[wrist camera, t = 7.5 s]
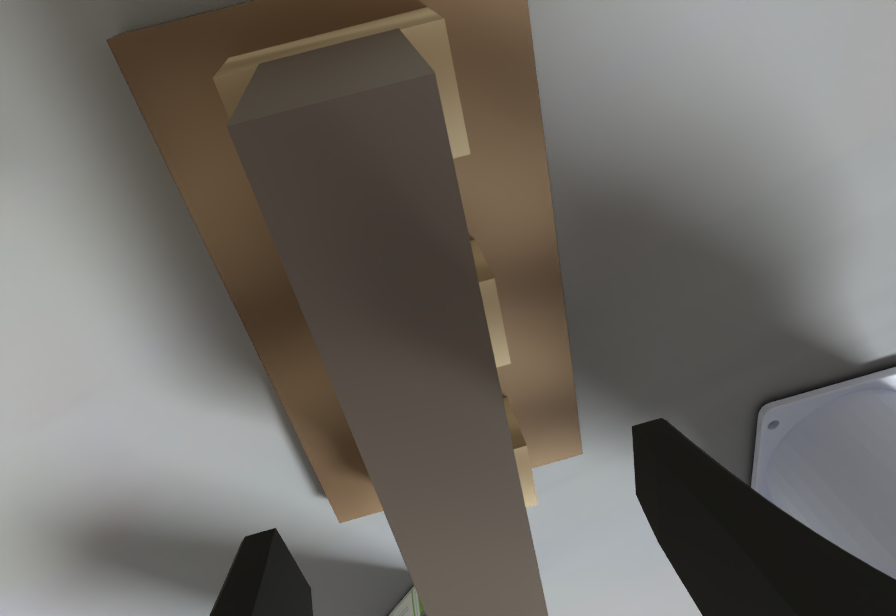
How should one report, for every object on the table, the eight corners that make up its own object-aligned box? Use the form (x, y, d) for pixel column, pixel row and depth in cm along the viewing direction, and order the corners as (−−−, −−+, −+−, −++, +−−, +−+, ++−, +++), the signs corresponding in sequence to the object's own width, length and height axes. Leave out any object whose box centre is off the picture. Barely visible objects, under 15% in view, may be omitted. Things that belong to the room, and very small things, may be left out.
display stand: (574, 436, 25) (607, 503, 22) (338, 503, 25) (340, 579, 22) (508, -65, 15) (552, -66, 12) (118, 34, 15) (68, 58, 12)
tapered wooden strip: (510, 511, 21) (555, 652, 17) (422, 536, 21) (446, 684, 17) (398, 27, 13) (435, 72, 8) (250, 65, 13) (212, 129, 8)
